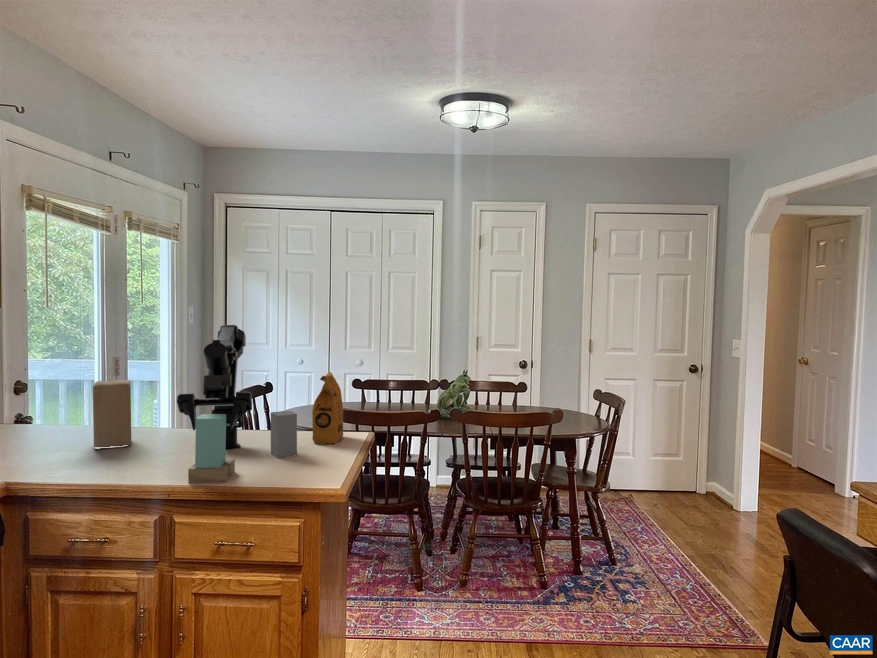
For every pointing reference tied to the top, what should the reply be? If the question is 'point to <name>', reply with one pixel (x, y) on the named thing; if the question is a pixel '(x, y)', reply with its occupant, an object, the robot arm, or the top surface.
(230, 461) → the taupe square slab
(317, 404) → the coffee package
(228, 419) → the robot arm
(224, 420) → the teal pillar
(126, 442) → the block
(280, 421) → the grey rectangular pillar
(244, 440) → the top surface
